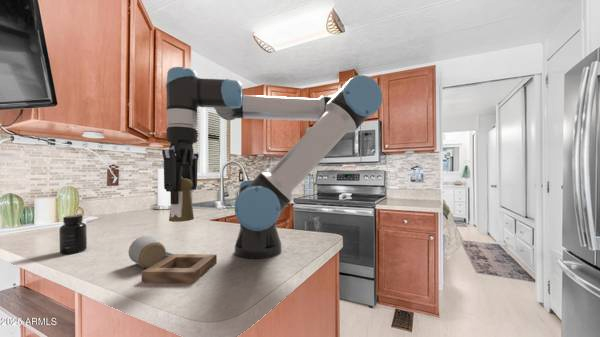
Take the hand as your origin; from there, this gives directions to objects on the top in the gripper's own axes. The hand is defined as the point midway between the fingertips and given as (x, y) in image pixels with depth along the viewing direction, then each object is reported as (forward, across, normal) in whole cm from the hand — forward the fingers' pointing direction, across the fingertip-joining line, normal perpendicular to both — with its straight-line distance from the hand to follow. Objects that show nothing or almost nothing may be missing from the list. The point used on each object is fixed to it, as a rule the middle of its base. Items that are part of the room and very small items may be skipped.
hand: (181, 215), depth 67 cm
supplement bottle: (+15, -14, -47) cm, 51 cm away
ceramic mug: (+15, -5, -12) cm, 20 cm away
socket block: (+15, +1, +1) cm, 15 cm away
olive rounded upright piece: (+1, 0, 0) cm, 1 cm away
